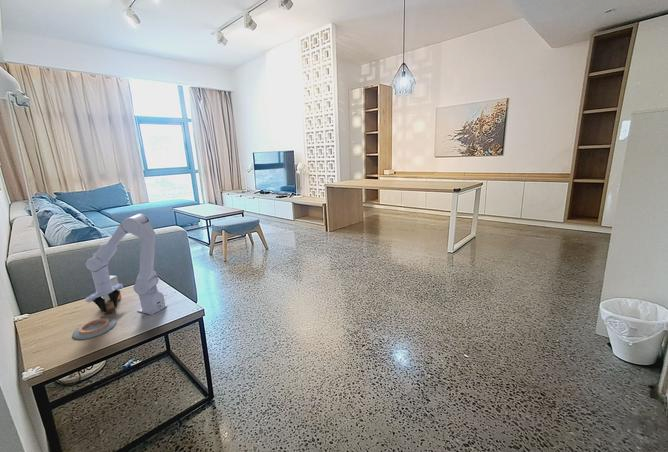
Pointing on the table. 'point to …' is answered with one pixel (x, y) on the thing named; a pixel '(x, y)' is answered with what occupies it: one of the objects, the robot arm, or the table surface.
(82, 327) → the ring dish
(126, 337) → the table surface
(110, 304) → the brown rounded cylinder
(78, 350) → the table surface
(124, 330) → the table surface
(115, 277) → the skincare box
